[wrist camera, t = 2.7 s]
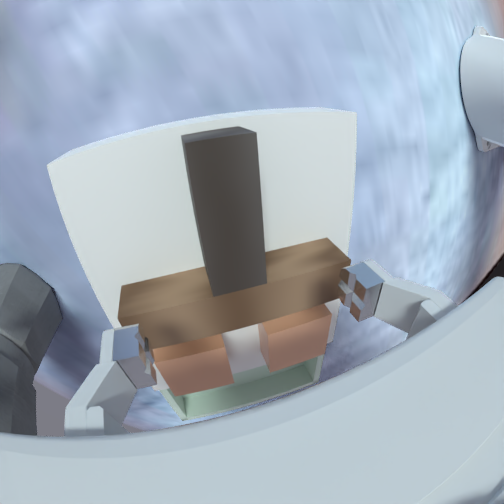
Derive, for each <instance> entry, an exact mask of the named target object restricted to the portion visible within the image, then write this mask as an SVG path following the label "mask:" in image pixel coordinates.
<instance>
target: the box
mask: <svg viewBox="0 0 504 504" xmlns="http://www.w3.org/2000/svg"><path fill="white" fill-rule="evenodd" d="M323 358H324V354H323V355H320V356H317V357H315V358H312V359H309V360H307V361H304V362H301V363H298V364H295V365H292V366H289V367H286V368H283V369H280V370H277V371H274V372H271V373H270V372H269V369H268V367H267V365H263V366H260V367H256V368H253V369H250V370H246V371H242V372H239V373H235V374H232V375H233V379H234V383H233V384H229V385H225V386H221V387H217V388H213V389H209V390H204V391H200V392H195V393H190V394H186V395H181V396H175V395H174V394H173V392H172V391H171V389H170V388H169V389H164V390H160V392H161V393H162V395H163V396H164V397H165V399H166V400H167V402H168V403H169V404H170V406H171V407H172V408H173V410H174V411H175V412H176V413H177V415H178V416H179V417H180V419H181V420H182V421H185V420H190V419H195V418H200V417H205V416H210V415H214V414H218V413H222V412H227V411H230V410H234V409H238V408H242V407H246V406H249V405H253V404H256V403H259V402H263V401H266V400H269V399H272V398H275V397H278V396H281V395H284V394H287V393H290V392H293V391H296V390H299V389H301V388H304V387H307V386H310V385H312V384H315V383H317V382H318V381H319V377H320V372H321V368H322V363H323Z"/></svg>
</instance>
